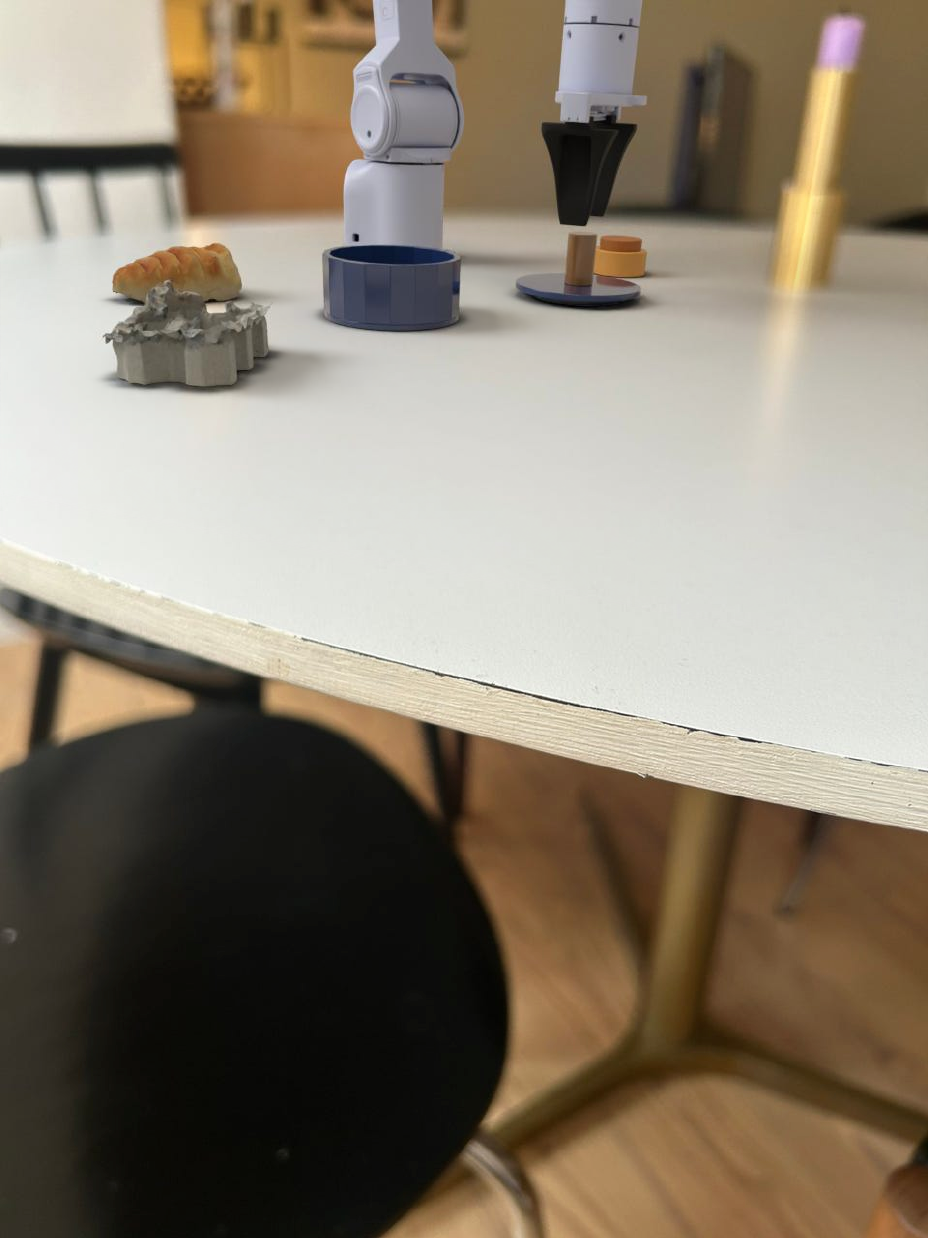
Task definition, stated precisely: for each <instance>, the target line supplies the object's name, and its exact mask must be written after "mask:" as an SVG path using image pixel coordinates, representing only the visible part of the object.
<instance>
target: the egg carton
mask: <svg viewBox="0 0 928 1238" xmlns="http://www.w3.org/2000/svg"><path fill="white" fill-rule="evenodd" d="M172 281H173V280H171V279H169V280H167V281H165V282H164V283H163V284H162V283H161V282H160V283H158V284H157V286H156V287H152V289H151V290H150V291H149V293H147V296H146V303H145V304H143V306H135V307H134V308H133V311H132V314H131V315H129V316H128V317H127V318H126V319H125V320H124V321H118V322H117V324H116V325H115V326H114V328H112V331H111V332H110V333H109V332H108V333H107V332H106V333H104V334H103V335H102V338H105V339H104V341H105V345H107V344H109V343H110V342H111V341H112V348H113V351H114V353H115V356H116V376H117V379H122V380H125V381H127V382H128V383H129V384H141V385H143V386H146V385H151V384H155V383H165V382H172V383H173V382H174V383H181V384H186V385H189V386H194V387H215V386H231V385H233V384H235V383H236V382H237V381H238V373H237V371H249V370H252V368H254V358H264V357H266V356H267V355H268V352H269V350H270V349H269V339H268V338H269V337H268V323H267V319H266V316H265V315H267V312H268V311H269V309H270V308H271V305H272V304H273V302H272V303H270V304H269V305H268V304H267V305H261V304H258V303H254V302H252V301H250V306H249V307H239V306H237V305H235V303H234V302H233V301H232V300H227V301H226V302H225V304H224V305H225V306H224V307H225V311H224V312H209V311H208V310H207V304H206V303H205V302H206V301H204V300H203V298H202V296H201V295H200V294H197V293H195V292H191V291H184V292H182V291H180V290H177V289H174V288H173V286H172Z"/></svg>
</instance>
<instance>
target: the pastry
mask: <svg viewBox="0 0 928 1238" xmlns="http://www.w3.org/2000/svg"><path fill="white" fill-rule="evenodd" d="M169 279H171V280H173V281H172V286H173V288H174V289H177V290H180V291H182V292H184V291H191V292H195V293H197V294H200V295H201V296H202V298H203V300H204V302H208V301H209V300H213V299H214V300H215V301H219V302H220V301H230V300H233V299H235V298H239V294H240V291H241V290H242V289H243V288H242V287H243V281H242V278H241V274H240V272H239V268H238V266H237V264H236V263H235V262H234V260H233V255H232V253H231V251H230V249H229V248H228V247H227V246H226V245H224V244H222V243H220V242H213V243H211V244H209V245H204V246H202V247H198V246H182V245H176V246H175V245H174V246H171V247H169V248H167V249H165V250H157V251H155V252H153V253H152V254H150V255H147V256H145V257H142V258H138V259H135V260H134V262H132V263H131V262H130V263H127V264H125V265H124V266H121V267H119V268H118V269H116V270H115V272H114V273H113V275H112V281H111V283H112V293H115V294H120V295H122V296H125V297H127V298H131V299H134V300H137V301H140V302H143V305H145V303H146V296H147V293H149V291H150V290H151V289H152V287H156V286H157V284H158V283H160V282H161V283H162V284H163V283H164V282H165V281H167V280H169Z"/></svg>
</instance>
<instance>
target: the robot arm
mask: <svg viewBox="0 0 928 1238" xmlns="http://www.w3.org/2000/svg"><path fill="white" fill-rule="evenodd" d="M564 4H565V5H564V17H563V29H562V30H563V31H562V41H561V53H560V65H559V78H558V88H557V89H558V91H555V95H554V97H555V98H554V102H555V104H560V117H559V121H560V122H554V121H553V122H552V121H543V122H541V126H540V127H541V130H540V131H541V135H542V138H543V141H544V143H545V145H546V149H547V152H548V155H549V158H550V163H551V166H552V173H553V180H554V187H555V198H556V209H557V216H558V217H557V218H558V222H559V225H562V226H572V227H573V226H574V227H587V225H588V222H589V219H590V217H599V218H603V217H604V216H605V214H606V211H607V209H608V207H609V203H610V199H611V196H612V191H613V189H614V185H615V182H616V179H617V178H616V177H617V175H618V171H619V169H620V166H621V163H622V160H623V159H624V155H625V153H626V151H627V149H628V147H629V145H630V144H631V141H632V140H633V138H634V137H635V135H636V133H637V132H638V131H637V130H638V124H637V123H630V122H629V123H628V122H617V121H620V120H621V114H622V107H623V108H632V107H633V106H647V102H648V96H647V95H641V94H640V95H639V94H638V95H637V94H636V95H635V94H633V88H634V79H635V70H636V60H637V52H638V41H639V33H640V26H641V17H642V10H643V9H642V7H643V0H565V3H564ZM372 8H373V21H374V32H375V35H374V36H375V45H374V47H373V48H372V49H371V50H370V51H369V52H368V53H366V55H365V56H364V57H363V58H362V60H360V61H359V62H358V63H357V64H356V66H355V67H354V68H353V70H352V74H353V77H352V78H353V95H352V102H351V106H350V127H351V131H352V134H353V137H354V139H355V142H356V144H357V146H358V147H359V149H360V150H361V152H363V159H361V158H359V159H358V158H357V159H354V160H352V161H351V162H350V163H349V165H348V166H347V168H346V172H345V176H344V183H343V229H344V230H343V231H344V233H343V234H344V235H343V237H344V246H348V245H366V244H371V245H372V244H389V245H409V246H421V247H429V248H437V249H442V250H444V248H443V241H444V240H443V237H444V235H443V234H444V206H445V205H444V204H445V170H446V169H445V166H446V164H445V163H446V162H447V163H449V162H451V161H452V153H453V152H454V151H456V149H457V148H458V146H459V144H460V143H461V139H462V137H463V134H464V130H465V129H464V128H465V112H464V111H465V110H464V106H463V102H462V100H461V96H460V94H459V91H458V87H457V79H456V77H457V76H456V68H455V66H454V65H453V64H452V62H451V60H449V58H447V56H446V55H445V54H444V53H443V51H442V50H441V49H440V48H439V47H438V45H437V44H436V42H435V32H434V14H433V13H434V12H433V0H372ZM392 81H393V82H392ZM394 81H398V82H394ZM399 81H400V82H399ZM403 81H404V82H403ZM446 250H447V251H451V252H454V253H456V251H455V250H453V249H446Z"/></svg>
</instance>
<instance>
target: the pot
mask: <svg viewBox="0 0 928 1238" xmlns="http://www.w3.org/2000/svg"><path fill="white" fill-rule="evenodd" d="M442 249H443V248H442ZM442 249H437V248H429V247H421V246H409V245H389V244H372V245H371V244H366V245H348V246H345V245H341V246H333V247H331V248H326V249H324V250H323V252H322V253H321V257H322V258H321V260H322V288H323V290H322V293H323V294H322V295H323V297H322V298H323V311H324V317H325V318H326V319H327V320H328V321H331V322H333V323H334V324H338V325H341V326H345V327H351V328H356V329H365V330H372V331H387V332H388V331H389V332H390V331H391V332H394V331H395V332H403V331H404V332H409V331H413V332H414V331H426V330H433V329H434V330H435V329H440V328H444V327H448V326H451V325H454V324H455V323H457V322H458V320H459V315H460V297H461V296H460V295H461V271H462V270H461V269H462V258H461V254H458V253H456V252H455V253H454V252H451V251H447V250H448V249H443V250H442Z"/></svg>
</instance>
